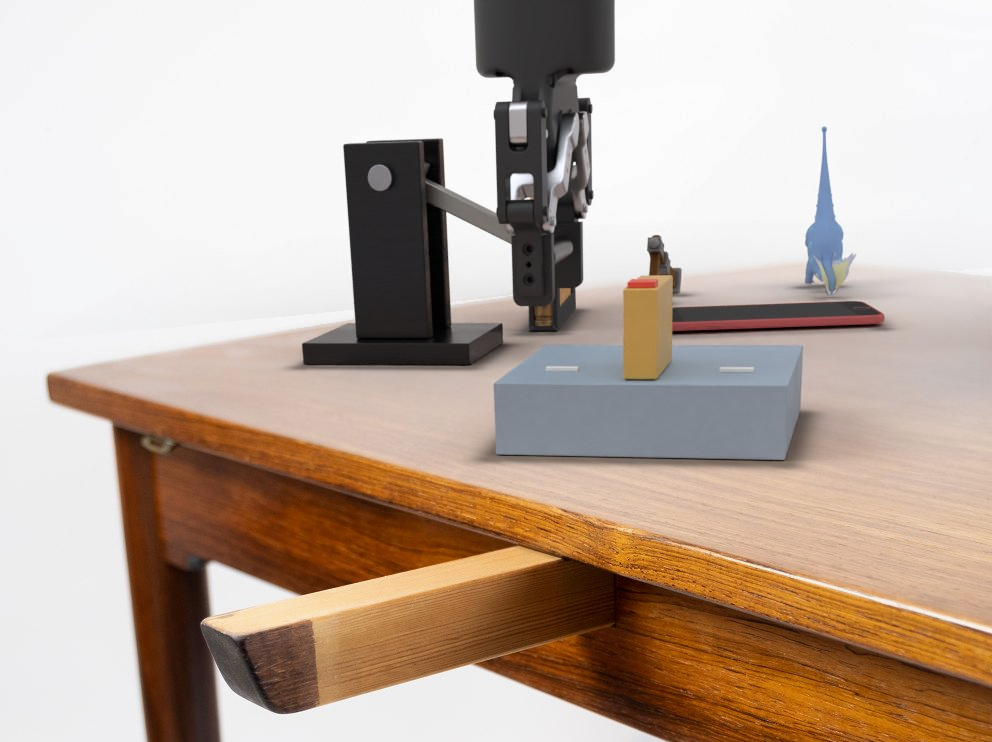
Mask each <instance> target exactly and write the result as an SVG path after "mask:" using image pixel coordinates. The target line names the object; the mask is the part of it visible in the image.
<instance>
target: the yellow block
mask: <svg viewBox="0 0 992 742" xmlns="http://www.w3.org/2000/svg"><path fill="white" fill-rule="evenodd" d="M622 291H623V292H622V302H623V303H622V316H623V317H622V336H623V337H622V341H623V343H622V345H623V378H624V379H652V380H656V379H657V378H658V377H659V376H660V374H661V373H662V372H663V371H664V369H665V368H666V367H667V366H668V364H669V363H670V362H671V360H672V345H673V331H672V307H673V304H674V303H673V301H674V300H673V299H674V298H673V294H674V293H673V276H671V275H653V276H649V275H640V276H639V277H637V278H631V279H630V280H629V281H627V286H625V288H624V289H623V290H622Z"/></svg>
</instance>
